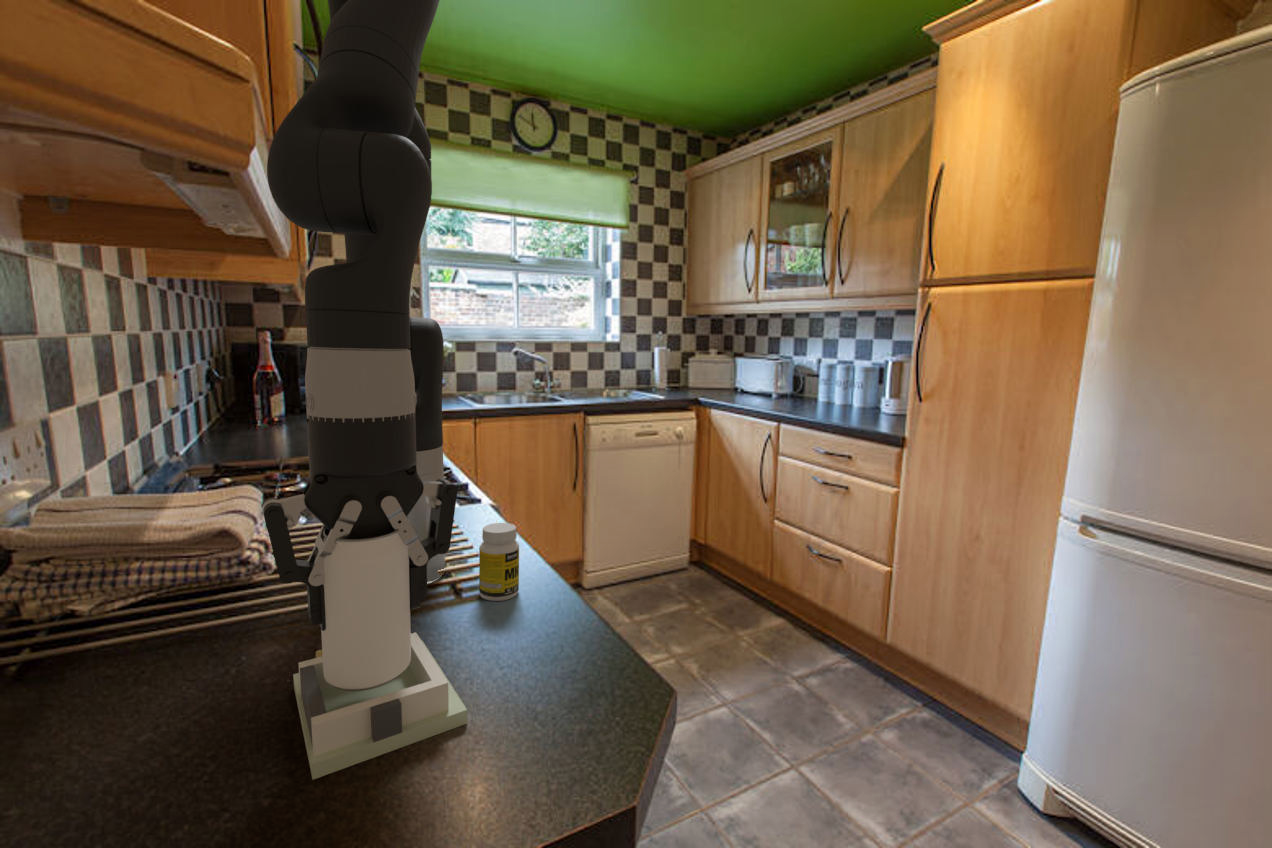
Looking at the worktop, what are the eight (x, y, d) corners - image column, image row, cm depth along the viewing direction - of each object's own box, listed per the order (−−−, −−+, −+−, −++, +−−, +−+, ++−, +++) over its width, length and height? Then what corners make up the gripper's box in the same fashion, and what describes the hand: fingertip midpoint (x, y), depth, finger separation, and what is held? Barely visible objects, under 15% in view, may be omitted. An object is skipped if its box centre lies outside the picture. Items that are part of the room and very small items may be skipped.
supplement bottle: (509, 604, 68) (509, 535, 66) (472, 599, 68) (471, 531, 67) (524, 587, 72) (525, 523, 71) (490, 583, 73) (490, 519, 72)
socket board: (293, 687, 50) (291, 648, 50) (422, 651, 57) (421, 617, 56) (312, 779, 40) (310, 732, 40) (467, 723, 46) (466, 682, 46)
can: (333, 704, 42) (326, 547, 40) (316, 664, 47) (309, 524, 45) (422, 674, 46) (419, 531, 45) (397, 641, 51) (394, 511, 49)
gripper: (442, 400, 51) (445, 580, 53) (247, 406, 43) (261, 619, 45) (471, 409, 45) (474, 611, 47) (252, 418, 37) (267, 663, 39)
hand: (370, 614), depth 46 cm, fingers closed on can, 6 cm apart
